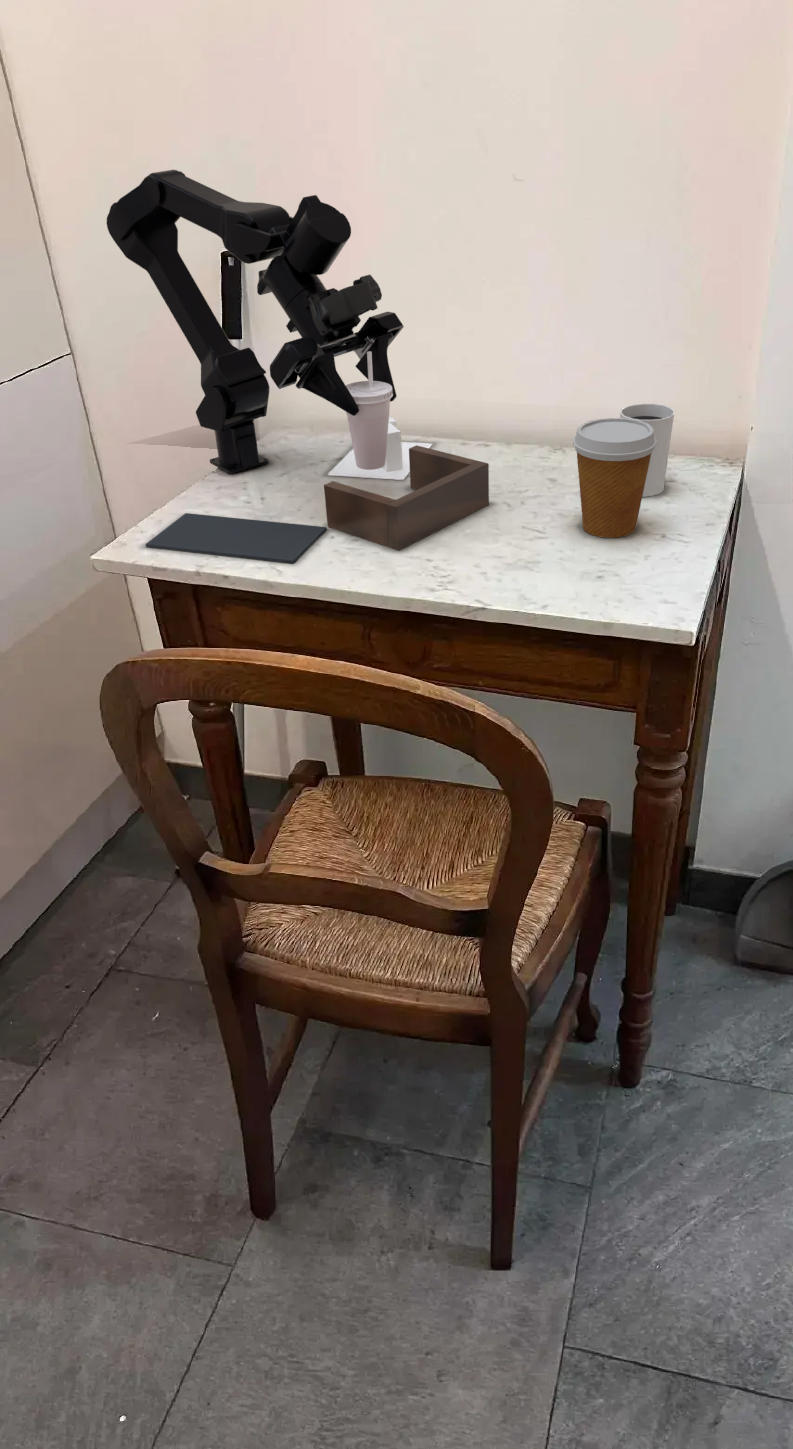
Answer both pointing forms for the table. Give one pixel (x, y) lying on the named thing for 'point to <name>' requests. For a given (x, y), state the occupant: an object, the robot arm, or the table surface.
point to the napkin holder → (394, 463)
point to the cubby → (412, 500)
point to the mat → (237, 537)
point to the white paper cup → (662, 428)
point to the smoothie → (370, 420)
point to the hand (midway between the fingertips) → (375, 406)
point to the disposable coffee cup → (612, 473)
